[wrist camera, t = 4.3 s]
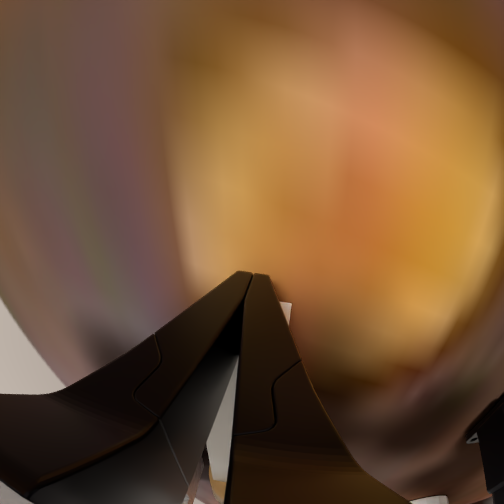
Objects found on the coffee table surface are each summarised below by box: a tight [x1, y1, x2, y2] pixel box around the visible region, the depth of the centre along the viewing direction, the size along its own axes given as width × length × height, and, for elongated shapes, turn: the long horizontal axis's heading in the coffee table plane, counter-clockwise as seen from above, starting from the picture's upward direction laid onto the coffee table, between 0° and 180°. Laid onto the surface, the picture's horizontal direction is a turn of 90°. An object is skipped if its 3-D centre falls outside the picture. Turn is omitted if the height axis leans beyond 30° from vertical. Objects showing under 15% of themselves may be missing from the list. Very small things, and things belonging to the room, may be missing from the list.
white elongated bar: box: [206, 302, 292, 504], centre depth 13 cm, size 16×3×3 cm, turn 177°
